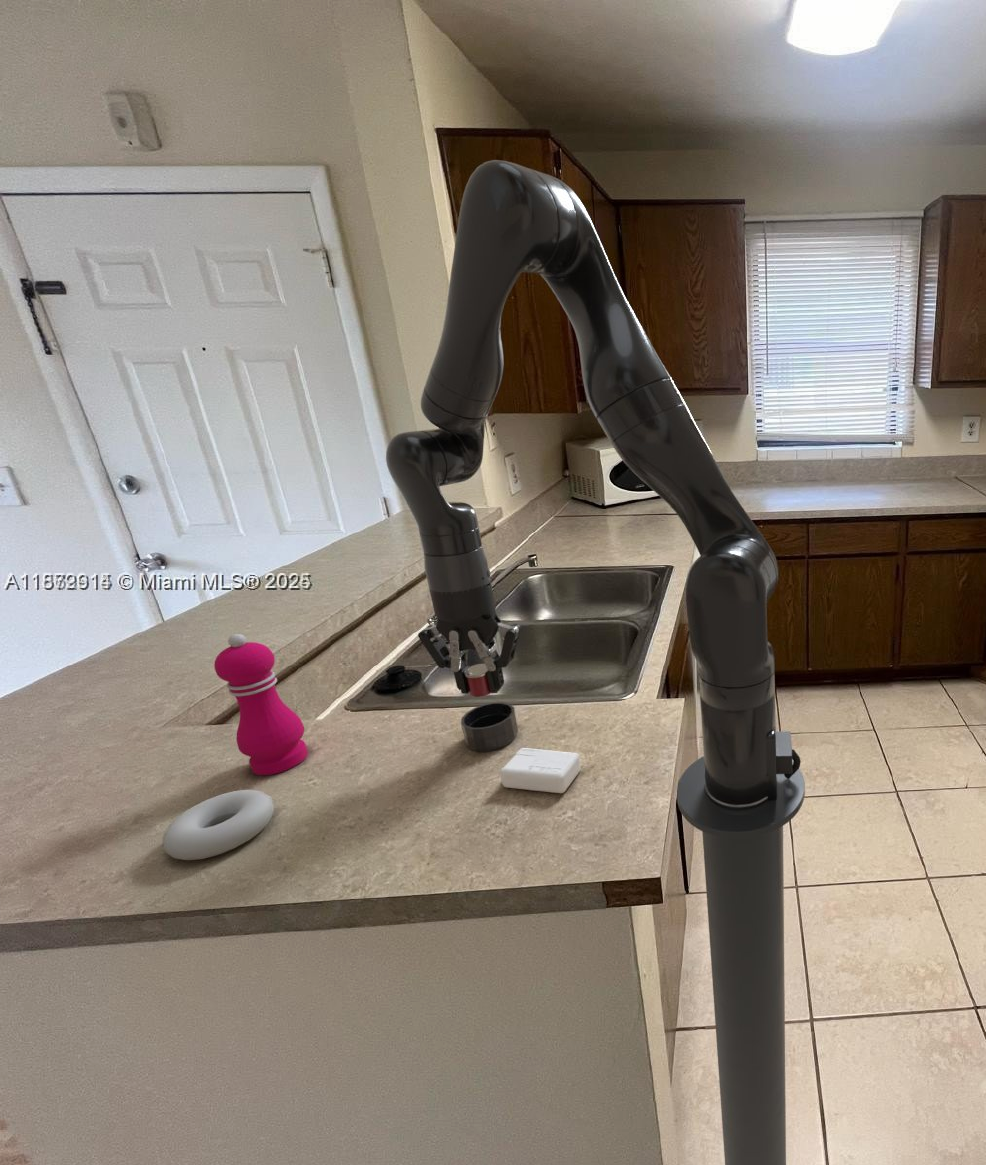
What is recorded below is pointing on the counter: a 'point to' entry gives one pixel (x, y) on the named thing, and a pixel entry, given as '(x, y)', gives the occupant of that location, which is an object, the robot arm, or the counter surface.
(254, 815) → the donut
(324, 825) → the counter surface
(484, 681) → the pod
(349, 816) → the counter surface
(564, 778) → the soap
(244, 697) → the pepper mill
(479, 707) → the bowl
